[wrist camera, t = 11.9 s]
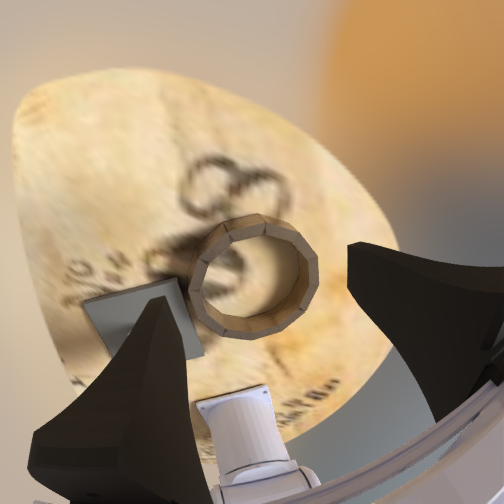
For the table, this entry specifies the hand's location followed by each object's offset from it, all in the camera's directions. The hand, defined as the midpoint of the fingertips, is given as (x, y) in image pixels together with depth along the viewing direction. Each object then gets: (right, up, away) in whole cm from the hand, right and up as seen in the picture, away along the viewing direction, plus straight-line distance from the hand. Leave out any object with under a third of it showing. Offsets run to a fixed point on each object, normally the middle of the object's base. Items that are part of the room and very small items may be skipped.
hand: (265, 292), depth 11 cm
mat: (-9, -5, +11) cm, 16 cm away
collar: (-1, 0, +12) cm, 12 cm away
